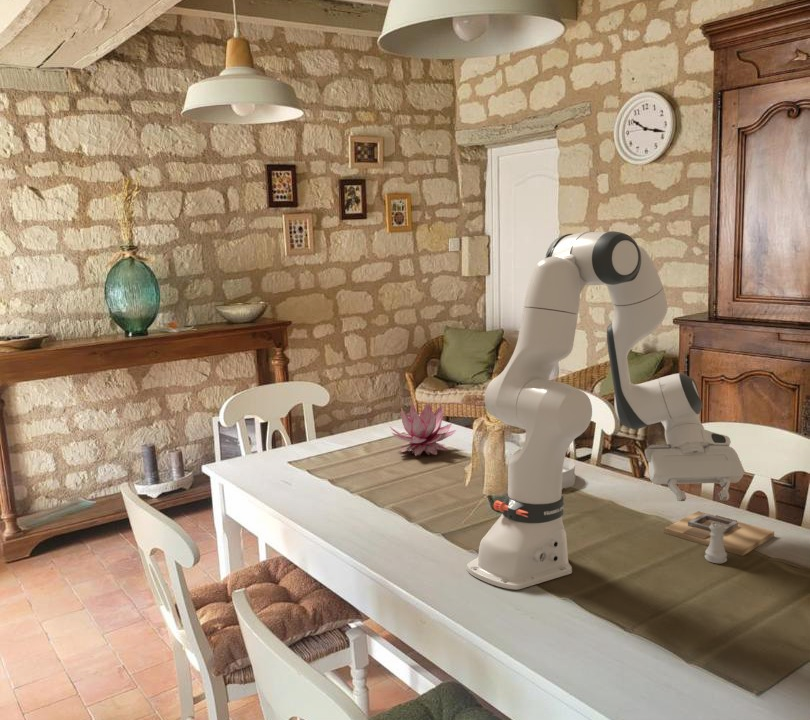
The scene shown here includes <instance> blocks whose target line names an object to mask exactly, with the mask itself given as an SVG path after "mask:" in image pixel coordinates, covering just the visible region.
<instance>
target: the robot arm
mask: <svg viewBox="0 0 810 720" xmlns="http://www.w3.org/2000/svg"><path fill="white" fill-rule="evenodd" d="M586 285H587V286H604V285H605V286H606V287H607V290H608V294H609V298H610V301H611V303H612V307H613V319H612V321H611V323H610V324H609V325H608V326H607V327H606V343H607V344H606V345H607V352H608V358H609V366H610V371H611V378H612V384H613V391H614V399H613V400H614V401H613V402H614V403H613V405H614V412H615V415H616V419H618V421H619V423H620V424H621V425H622V426H625V427H626V428H628V429H631V430H634V431H637V430H640V429H642V428H645V427H648V426H650V425H654V424H657V423H661V424H662V426H663V428H664V438H665V441H666V444H658V445H657V444H650V445H649V446H648V447H646V448H645V449H644V456H645V460H646V461H647V462H648V475H649V479H650V481H651V482H652V483H653V484H654V485H667V487H668V489H669V490H670V491H671V492H672V493H673V495H675V497H676V501H677V502H685V501H686V500H687V495H686V491H685V490H681V488H680V487H679V486H677V485H681V484H683V485H685V484H686V485H688V484H719V485H720V487H721V488H722V489H720V491H719V492H718V497H719V500H720V501H728V500H729V499H730V493H729V489H730V485H731V483H732V484H733V483H734V484H735V483H738V482H740V480H741V479H742V478H743V476H744V474H745V470H744V467H743V465H742V462H741V460H740V456H739V455H738V453H737V451H736V450H735V449H734V448H733V447H732V446H730V445H731V438H730V437H729V436H728V435H725V434H720V433H717V432H713V431H710V430H708V429H705V427H704V425H703V424H702V422H701V419H700V418H701V417H700V416H701V414H700V413H701V410H702V408H703V406H704V405H703V401H702V400H701V398H700V394H699V389H698V388H699V387H698V386H697V383H696V381H695V379H694V378H692V377H691V376H688V375H687V374H684V373H681V372H679V373H672V374H670V375H665V376H662V377H659V378H656V379H651V380H647V381H645V382H642V383H637V384H635V383H633V382H632V381H631V374H630V369H629V368H630V366H629V362H628V355H629V353H630V352H631V350H632V349H633V348H634V347H635V346H636V345H637V344H638V343H640V342H641V341H642V340H643V339H645V338H646V337H648V336H649V335H651V334H652V333H653V332H655V331H656V330H657V329H658V328H659V327H660V326H661V324H662V323H663V321H664V319H666V318H665V317H666V316H667V313H668V301H667V296H666V293H665V288H664V285H663V283H662V281H661V278H660V275H659V272H658V271H657V268H656V267H655V265H654V262H653V260H652V258H651V257H650V255H649V253H648V252H647V250H646V249H645V248H644V247H642V246H640V245H638V243H637V242H636V240H635V239H634V237H631V235H628V234H627V233H624V232H620V231H614V230H613V231H608V232H607V231H593V230H589V231H588V230H587V231H581V232H577V233H566V234H563V235H561V236H560V237H557V238H556V239H555V240H553V241H552V242H551V244H550V245H549V247H548V248H547V251H546V254H545V257H544V258H542V259H540V260H539V261H538V262H537V263H536V264H535V265H534V268H533V270H532V273H531V275H530V279H529V283H528V286H527V289H526V292H525V293H526V294H525V298H524V303H523V308H522V314H521V315H522V316H521V320H520V321H521V322H520V325H519V331H518V337H517V341H516V344H515V348H514V350H513V353H512V355H511V357H510V359H509V361H508V363H507V365H506V366H505V367H504V368H503V370H502V371H501V373H499V374H497V376H495V377H494V378H493V379H492V380H490V382H489V383H488V385H487V387H486V389H485V392H484V405H485V409H486V410H487V412H488V414H490V415H491V416H492V417H494V418H495V419H496V420H498V421H500V422H502V423H503V424H505V425H508V426H512V427H514V428H519V429H521V430H525V438H524V439H525V440H524V442H523V446H522V448H519V449H518V450H516V451H514V452H513V453H512V454H511V455H512V456H511V457H510V459H509V462H508V486H507V493H506V494H505V498H504V501H503V502H502V501H500V500H498V499H496V500H495V501H494V503H493V505H492V507H493V509H494V510H495V511H498V512H501V515H500V516H499V518H497V520H496V521H495V522H494V524H493V525H492V526H491V528H489V530H488V532H487V533H486V534H485V535H484V536H483V538H482V539H481V540H480V543H479V547H478V555H477V557H476V558H474V559H473V560H471V561H469V562H467V564H466V570H467V572H468V573H469V574H470V575H471V576H473V577H475V578H476V579H479V580H481V581H482V582H485V583H487V584H489V585H493V586H496V587H499V588H503V589H508V590H515V591H516V590H522V589H525V588H527V587H532V586H534V585H538V584H541V583H544V582H548V581H551V580H554V579H557V578H561V577H564V576H565V577H566V576H568V575H570V574H572V573H573V567H572V565H571V564H570V562H569V555H568V554H569V553H568V541H567V532H566V528H565V526H564V523H563V517H562V516H564V511H565V510H564V509H565V503H564V496H563V494H562V491H563V489H562V473H563V463H564V458H566V455H567V452H568V451H569V450H568V449H569V448H570V445H571V444H572V443H573V442H574V440H575V439H576V438H578V437H580V436H582V435H583V433H585V431H586V430H587V428H588V427H589V426H590V423H591V421H592V418H593V417H592V416H593V406H592V403H591V399H590V397H589V395H588V394H587V393H585V392H584V391H582V390H580V389H578V388H577V387H574V386H573V385H570V384H568V383H565V382H560V381H554V380H550V376H551V374H552V371H553V370H554V368H555V367H556V365H558V363H559V362H561V361H562V360H564V359H566V358H568V357H569V356H570V354H571V353H572V351H573V347H574V342H575V335H576V329H577V323H578V317H579V309H580V300H581V299H580V298H581V293H582V291H583V289H584V288H585V286H586Z"/></svg>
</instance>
